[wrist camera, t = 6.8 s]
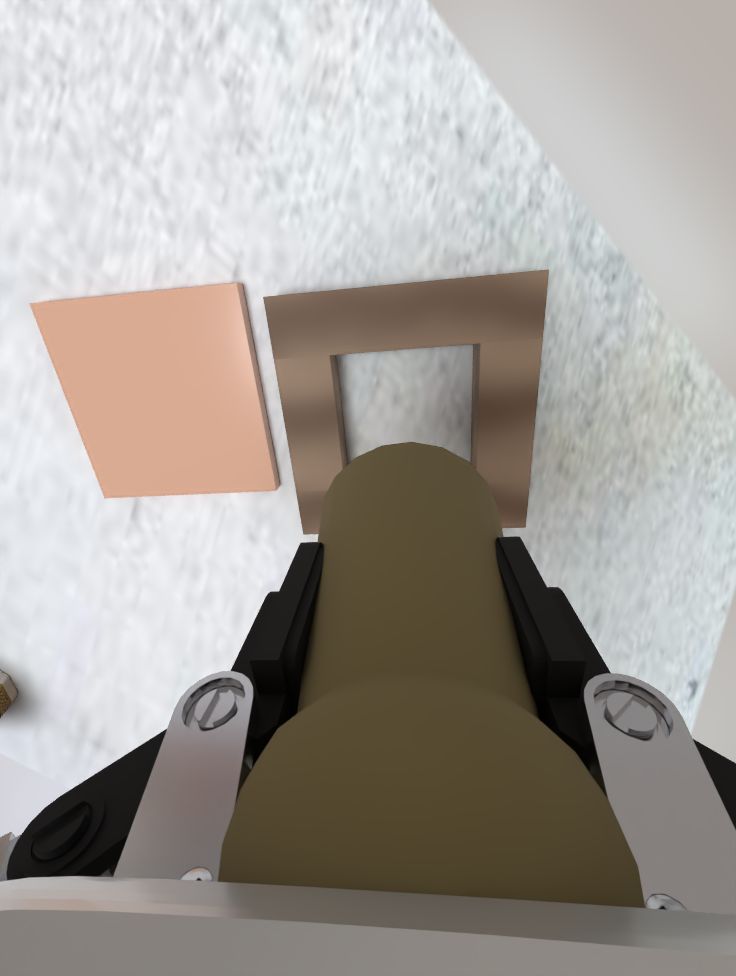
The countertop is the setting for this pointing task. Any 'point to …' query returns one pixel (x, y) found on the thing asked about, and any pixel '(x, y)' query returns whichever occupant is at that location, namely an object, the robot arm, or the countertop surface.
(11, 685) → the ceramic cup
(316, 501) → the frame
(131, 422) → the terracotta tile
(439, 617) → the olive tall flared piece
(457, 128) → the countertop surface
